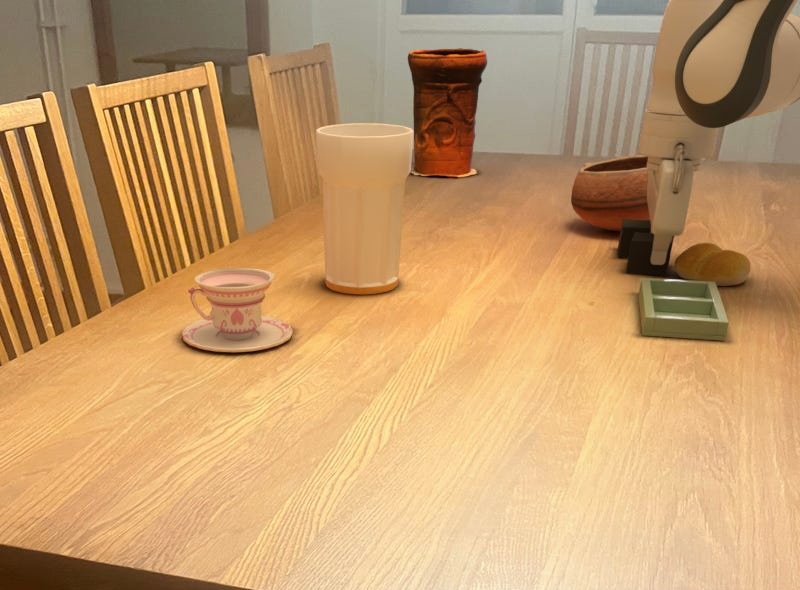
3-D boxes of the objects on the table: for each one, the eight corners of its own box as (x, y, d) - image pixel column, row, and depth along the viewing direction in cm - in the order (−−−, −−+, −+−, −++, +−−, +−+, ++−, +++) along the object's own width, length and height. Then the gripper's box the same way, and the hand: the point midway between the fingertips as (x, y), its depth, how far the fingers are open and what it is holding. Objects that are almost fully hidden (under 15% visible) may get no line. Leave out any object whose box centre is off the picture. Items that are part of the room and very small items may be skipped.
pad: (668, 266, 127) (674, 234, 125) (665, 276, 123) (672, 243, 121) (629, 263, 129) (634, 231, 126) (625, 272, 125) (631, 240, 122)
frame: (711, 298, 115) (715, 281, 114) (724, 341, 102) (729, 322, 101) (638, 294, 117) (641, 277, 115) (642, 335, 104) (645, 316, 103)
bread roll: (721, 291, 117) (728, 257, 115) (662, 275, 123) (668, 243, 121) (762, 280, 121) (771, 247, 119) (703, 265, 127) (710, 233, 125)
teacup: (274, 315, 111) (273, 259, 107) (307, 347, 101) (306, 287, 98) (172, 326, 108) (166, 268, 104) (195, 360, 98) (190, 298, 95)
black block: (654, 251, 134) (660, 220, 132) (655, 259, 130) (661, 228, 128) (617, 249, 135) (622, 218, 133) (617, 257, 131) (623, 226, 129)
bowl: (570, 215, 153) (580, 145, 147) (673, 221, 149) (687, 149, 143) (563, 238, 140) (573, 162, 135) (675, 244, 137) (690, 167, 131)
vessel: (400, 178, 179) (405, 53, 168) (405, 165, 191) (410, 47, 179) (478, 179, 178) (488, 53, 166) (478, 166, 189) (488, 47, 178)
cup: (420, 279, 123) (429, 126, 113) (382, 302, 115) (387, 139, 105) (342, 268, 127) (344, 120, 117) (300, 289, 119) (297, 132, 109)
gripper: (713, 152, 108) (686, 279, 116) (699, 127, 124) (676, 240, 132) (654, 151, 109) (632, 276, 117) (648, 125, 125) (629, 237, 133)
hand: (656, 257), depth 125 cm, fingers closed on pad, 5 cm apart
